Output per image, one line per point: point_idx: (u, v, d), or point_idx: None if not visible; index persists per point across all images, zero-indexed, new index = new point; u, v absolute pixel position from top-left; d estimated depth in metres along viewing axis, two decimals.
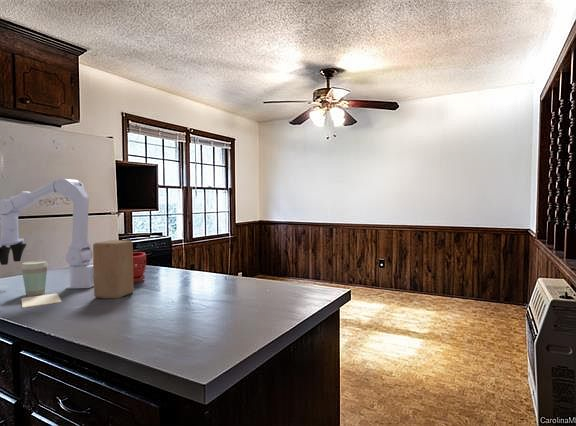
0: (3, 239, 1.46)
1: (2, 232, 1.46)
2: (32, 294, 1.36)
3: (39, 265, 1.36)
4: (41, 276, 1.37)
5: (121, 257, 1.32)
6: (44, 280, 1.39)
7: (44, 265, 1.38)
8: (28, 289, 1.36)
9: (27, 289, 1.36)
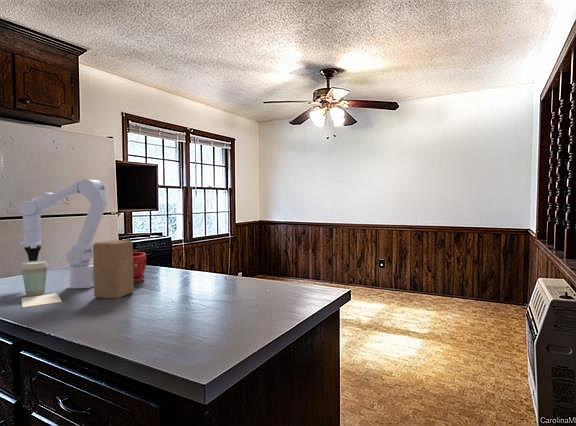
0: (30, 240, 1.46)
1: (29, 233, 1.46)
2: (32, 294, 1.36)
3: (39, 265, 1.36)
4: (41, 276, 1.37)
5: (121, 257, 1.32)
6: (44, 280, 1.39)
7: (44, 265, 1.38)
8: (28, 289, 1.36)
9: (27, 289, 1.36)
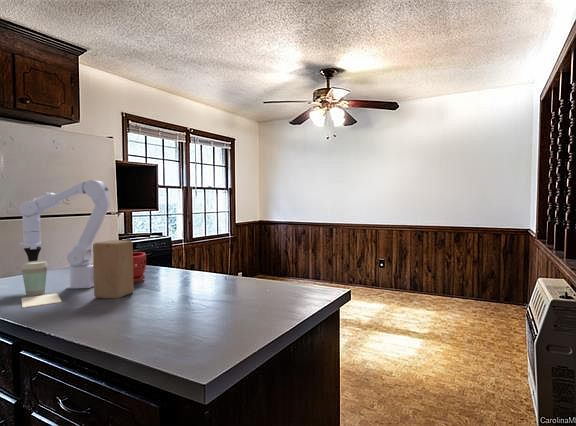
0: (30, 241, 1.44)
1: (29, 234, 1.43)
2: (32, 294, 1.36)
3: (39, 265, 1.36)
4: (41, 276, 1.37)
5: (121, 257, 1.32)
6: (44, 280, 1.39)
7: (44, 265, 1.38)
8: (28, 289, 1.36)
9: (27, 289, 1.36)
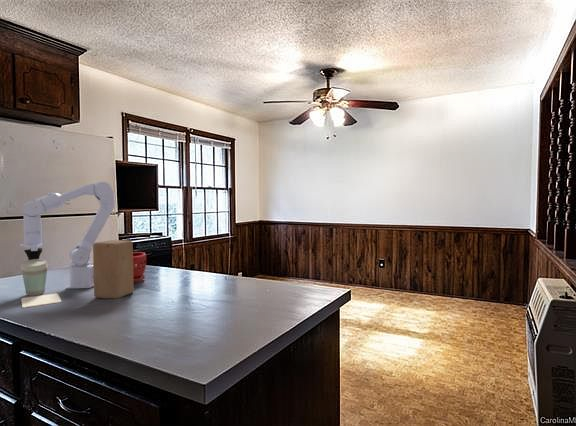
0: (31, 242, 1.38)
1: (29, 235, 1.38)
2: (32, 294, 1.36)
3: (39, 267, 1.35)
4: (41, 277, 1.36)
5: (121, 257, 1.32)
6: (44, 280, 1.38)
7: (44, 266, 1.36)
8: (28, 289, 1.35)
9: (27, 289, 1.35)
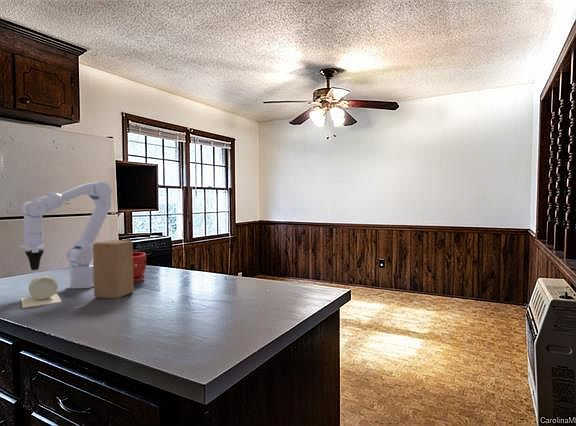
0: (32, 244, 1.34)
1: (30, 236, 1.34)
2: None
3: (44, 298, 1.29)
4: None
5: (121, 257, 1.32)
6: None
7: (50, 296, 1.30)
8: None
9: None
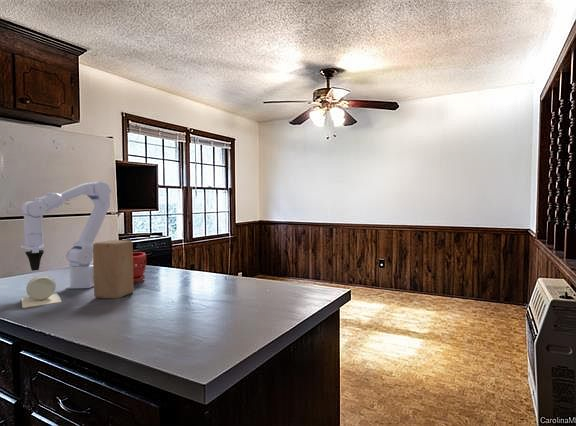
0: (32, 244, 1.34)
1: (30, 237, 1.33)
2: None
3: (44, 298, 1.29)
4: None
5: (121, 257, 1.32)
6: None
7: None
8: None
9: None
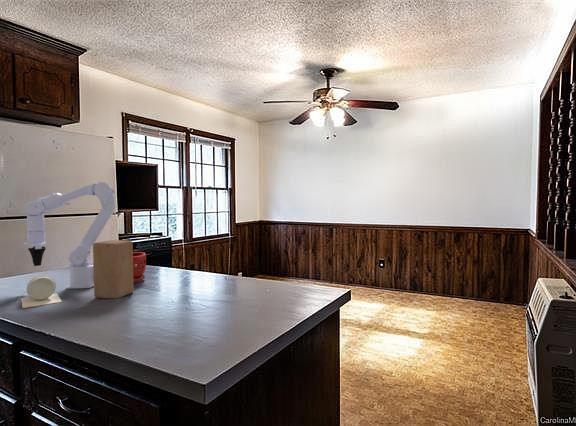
0: (35, 241, 1.42)
1: (33, 234, 1.42)
2: None
3: (44, 298, 1.29)
4: None
5: (121, 257, 1.32)
6: None
7: None
8: None
9: None
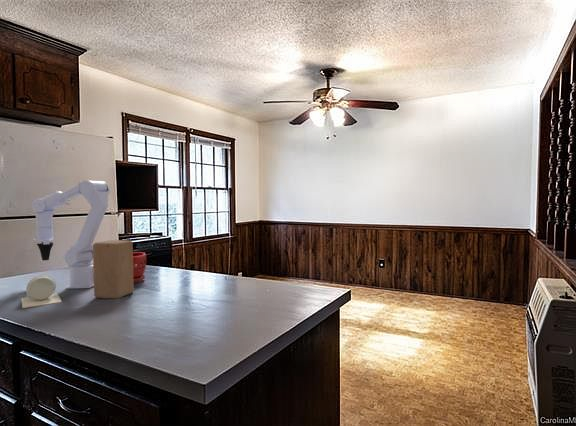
0: (43, 237, 1.50)
1: (42, 230, 1.50)
2: None
3: (44, 298, 1.29)
4: None
5: (121, 257, 1.32)
6: None
7: None
8: None
9: None
